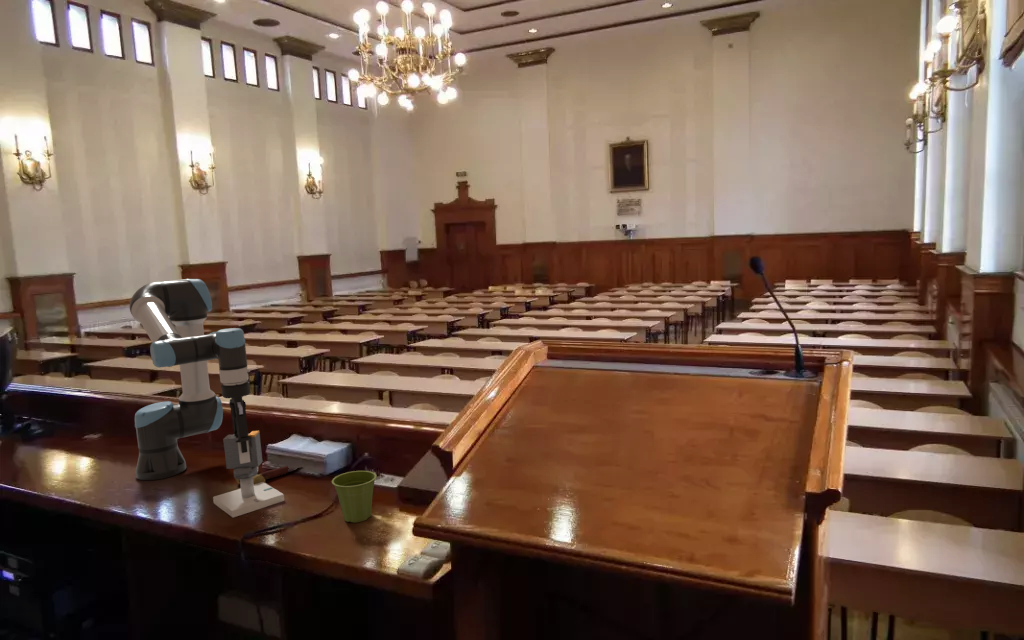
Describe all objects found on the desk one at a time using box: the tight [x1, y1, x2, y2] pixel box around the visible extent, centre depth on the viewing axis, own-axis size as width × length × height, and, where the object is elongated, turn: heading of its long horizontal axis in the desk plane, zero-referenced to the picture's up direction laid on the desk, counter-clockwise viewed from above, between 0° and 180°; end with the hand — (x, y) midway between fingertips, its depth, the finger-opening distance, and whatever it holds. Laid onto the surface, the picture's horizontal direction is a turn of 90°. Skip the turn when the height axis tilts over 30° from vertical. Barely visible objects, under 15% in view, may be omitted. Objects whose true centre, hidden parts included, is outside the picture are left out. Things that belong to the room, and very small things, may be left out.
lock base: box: [212, 477, 285, 518], centre depth 194 cm, size 15×15×8 cm
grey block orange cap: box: [222, 430, 264, 480], centre depth 192 cm, size 9×6×13 cm
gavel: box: [235, 465, 289, 485], centre depth 213 cm, size 21×5×10 cm
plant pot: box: [331, 470, 378, 524], centre depth 179 cm, size 12×12×11 cm
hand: (243, 459), depth 192 cm, fingers closed on grey block orange cap, 6 cm apart
